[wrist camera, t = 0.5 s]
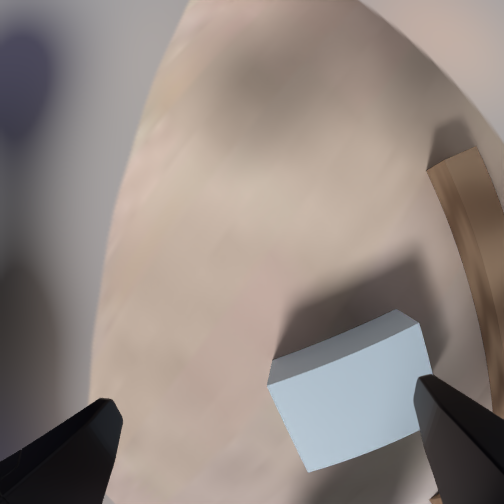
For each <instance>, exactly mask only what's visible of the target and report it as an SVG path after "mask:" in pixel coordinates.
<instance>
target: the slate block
mask: <svg viewBox="0 0 504 504" xmlns="http://www.w3.org/2000/svg"><path fill="white" fill-rule="evenodd" d="M427 374H433V373H432V369H431V365H430V361H429V357H428V353H427V349H426V346H425V342H424V338H423V335H422V331H421V328H420V324H419V322H417V321H415V320H414V319H412V318H411V317H409V316H407V315H406V314H404V313H403V312H401V311H399V310H398V309H395V310H393V311H391V312H389V313H386V314H384V315H382V316H380V317H378V318H376V319H373V320H371V321H369V322H367V323H364V324H362V325H360V326H358V327H355V328H353V329H351V330H348V331H346V332H344V333H341V334H339V335H337V336H334V337H332V338H329V339H327V340H324V341H322V342H319V343H317V344H314V345H312V346H309V347H307V348H304V349H301V350H299V351H296V352H293V353H291V354H288V355H285V356H283V357H280V358H277V359H274V360H272V364H271V369H270V374H269V378H268V383H267V387H268V389H269V392H270V394H271V396H272V398H273V400H274V402H275V405H276V407H277V409H278V411H279V413H280V415H281V417H282V420H283V422H284V424H285V426H286V428H287V430H288V432H289V434H290V436H291V438H292V441H293V443H294V445H295V447H296V449H297V451H298V453H299V455H300V457H301V459H302V461H303V463H304V465H305V467H306V469H307V471H308V472H312V471H315V470H319V469H322V468H325V467H328V466H332V465H335V464H338V463H341V462H344V461H346V460H349V459H352V458H355V457H358V456H360V455H363V454H366V453H368V452H371V451H373V450H376V449H378V448H381V447H383V446H386V445H388V444H390V443H393V442H395V441H397V440H399V439H402V438H404V437H406V436H408V435H410V434H412V433H414V432H417V431H419V430H420V428H419V424H418V420H417V415H416V411H415V407H414V403H413V397H414V392H415V387H416V382H417V379H418V377H420V376H423V375H427Z"/></svg>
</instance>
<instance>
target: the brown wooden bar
mask: <svg viewBox="0 0 504 504" xmlns="http://www.w3.org/2000/svg"><path fill="white" fill-rule="evenodd" d="M427 173H428V175H429V177H430V180H431V182H432V184H433V186H434V189H435V191H436V193H437V196H438V198H439V200H440V203H441V205H442V208H443V210H444V212H445V215H446V218H447V220H448V223H449V225H450V228H451V231H452V233H453V236H454V239H455V242H456V245H457V247H458V250H459V253H460V256H461V259H462V263H463V266H464V269H465V272H466V275H467V279H468V282H469V286H470V289H471V293H472V297H473V300H474V304H475V308H476V312H477V316H478V321H479V325H480V330H481V334H482V339H483V344H484V350H485V355H486V361H487V367H488V373H489V380H490V388H491V397H492V406H493V413H494V414H496V415H498V416H499V417H501V418H502V419H504V213H503V210H502V207H501V204H500V201H499V199H498V196H497V193H496V191H495V188H494V186H493V183H492V181H491V178H490V176H489V173H488V171H487V169H486V166H485V164H484V162H483V160H482V158H481V155H480V153H479V151H478V149H477V147H476V146H475V147H473V148H471V149H469V150H466V151H464V152H462V153H459V154H457V155H455V156H452V157H450V158H448V159H445V160H443V161H442V162H440V163H438V164H437V165H435V166H433V167H432V168H430V169H428V170H427Z"/></svg>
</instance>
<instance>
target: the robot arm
mask: <svg viewBox="0 0 504 504" xmlns="http://www.w3.org/2000/svg"><path fill="white" fill-rule="evenodd" d="M413 403H414V407H415V411H416V415H417V420H418V424H419V428H420V432H421V437H422V441H423V445H424V449H425V452H426V455H427V458H428V461H429V463H430V466H431V469H432V472H433V475H434V478H435V481H436V484H437V487H438V491H439V494H440V497H441V500H442V503H443V504H504V419H502V418H501V417H499V416H498V415H496V414H494V413H493V412H491V411H490V410H488V409H487V408H485V407H483V406H482V405H480V404H479V403H477V402H475V401H474V400H472V399H471V398H469V397H468V396H466V395H464V394H463V393H461V392H460V391H458V390H456V389H455V388H453V387H452V386H450V385H449V384H447V383H445V382H444V381H442V380H441V379H439V378H438V377H436V376H434V375H433V374H427V375H423V376H420V377H418V379H417V382H416V387H415V392H414V397H413ZM122 425H123V418H122V415H121V414H120V412H119V410H118V408H117V406H116V404H115V403H114V401H113V400H112V399H109V398H99V399H98V400H96V401H95V402H93V403H92V404H90V405H89V406H87V407H86V408H84V409H83V410H81V411H80V412H78V413H77V414H75V415H74V416H72V417H71V418H69V419H67V420H66V421H64V422H63V423H61V424H60V425H58V426H57V427H55V428H54V429H52V430H50V431H49V432H47V433H46V434H44V435H43V436H41V437H40V438H38V439H36V440H35V441H33V442H32V443H30V444H29V445H27V446H26V447H24V448H22V450H19V451H17V452H16V453H14V454H12V455H11V456H9V457H7V458H6V459H4V460H3V461H0V504H102V502H103V499H104V495H105V492H106V488H107V485H108V482H109V479H110V475H111V472H112V469H113V466H114V462H115V458H116V454H117V449H118V444H119V439H120V434H121V429H122Z"/></svg>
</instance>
